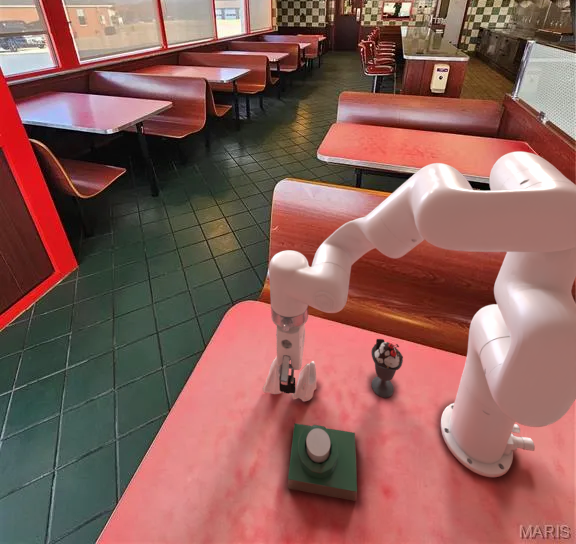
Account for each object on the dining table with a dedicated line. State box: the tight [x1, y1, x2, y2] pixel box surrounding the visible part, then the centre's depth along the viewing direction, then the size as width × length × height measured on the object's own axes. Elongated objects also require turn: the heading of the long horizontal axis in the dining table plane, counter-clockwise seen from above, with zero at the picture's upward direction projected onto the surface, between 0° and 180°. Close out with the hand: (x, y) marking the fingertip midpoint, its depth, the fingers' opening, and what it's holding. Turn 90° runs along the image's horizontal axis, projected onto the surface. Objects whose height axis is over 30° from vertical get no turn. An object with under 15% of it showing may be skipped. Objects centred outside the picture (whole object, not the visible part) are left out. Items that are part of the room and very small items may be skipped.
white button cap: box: [306, 428, 330, 463], centre depth 60 cm, size 4×4×2 cm
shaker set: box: [262, 356, 318, 402], centre depth 73 cm, size 12×4×11 cm, turn 84°
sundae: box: [370, 338, 404, 399], centre depth 73 cm, size 7×7×15 cm
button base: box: [287, 422, 358, 502], centre depth 61 cm, size 12×9×5 cm
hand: (290, 368), depth 72 cm, fingers open, 9 cm apart
